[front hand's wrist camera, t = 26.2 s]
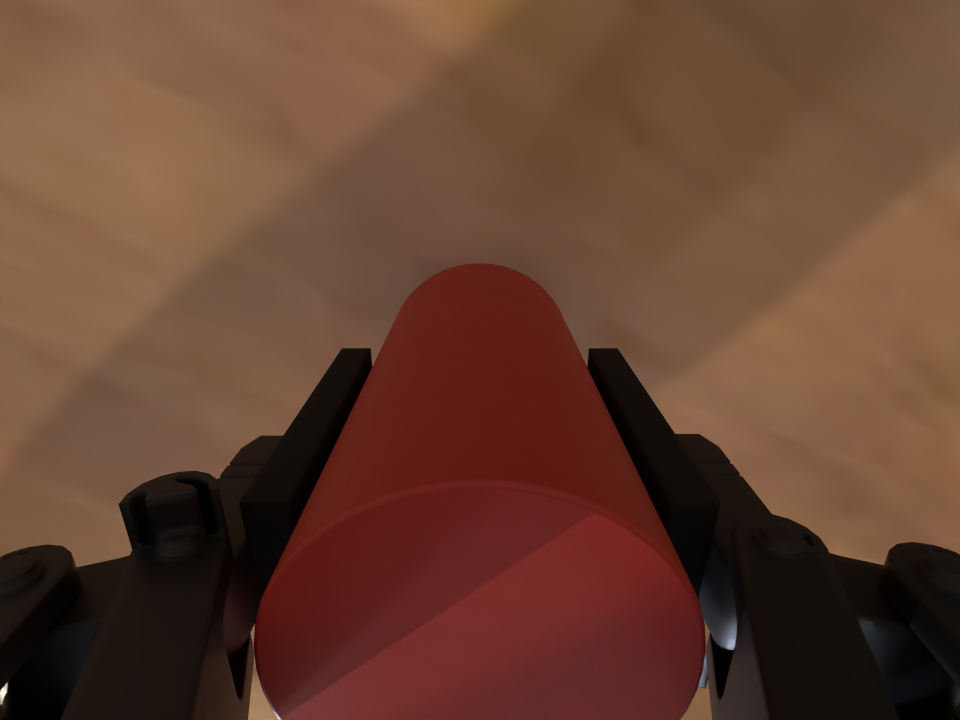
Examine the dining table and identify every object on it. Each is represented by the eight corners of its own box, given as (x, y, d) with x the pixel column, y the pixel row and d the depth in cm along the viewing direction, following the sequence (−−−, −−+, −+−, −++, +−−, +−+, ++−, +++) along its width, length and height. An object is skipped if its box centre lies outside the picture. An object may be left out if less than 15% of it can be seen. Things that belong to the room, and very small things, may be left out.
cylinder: (604, 335, 17) (807, 642, 7) (494, 457, 19) (513, 857, 8) (461, 224, 16) (426, 383, 5) (357, 365, 18) (171, 701, 7)
